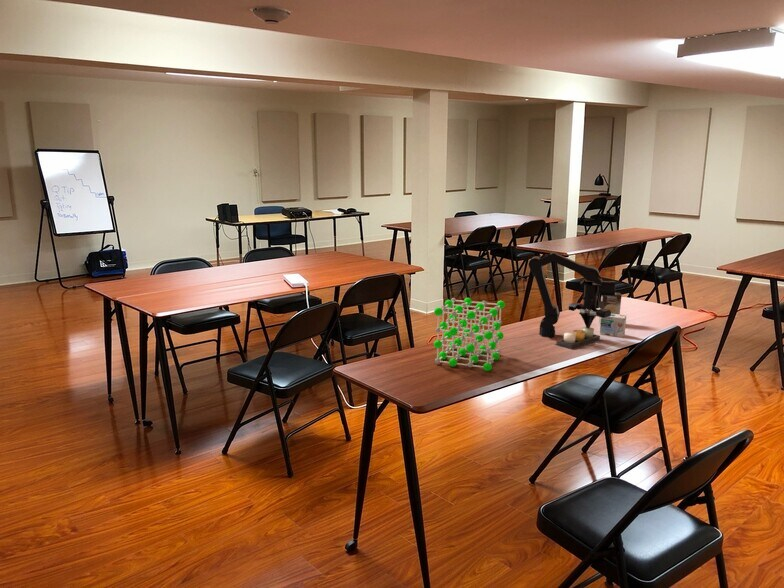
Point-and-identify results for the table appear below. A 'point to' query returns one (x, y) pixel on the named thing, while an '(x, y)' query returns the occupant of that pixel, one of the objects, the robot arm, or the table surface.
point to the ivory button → (569, 338)
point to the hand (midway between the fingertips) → (588, 328)
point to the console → (578, 342)
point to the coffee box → (612, 303)
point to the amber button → (579, 335)
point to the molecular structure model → (469, 332)
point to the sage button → (588, 332)
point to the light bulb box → (613, 325)
